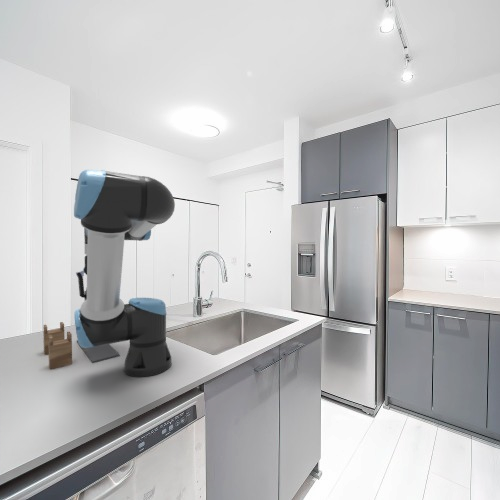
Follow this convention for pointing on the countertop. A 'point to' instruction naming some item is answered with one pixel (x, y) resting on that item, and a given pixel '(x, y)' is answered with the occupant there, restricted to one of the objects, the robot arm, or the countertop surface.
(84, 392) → the countertop surface
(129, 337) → the robot arm
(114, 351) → the mat
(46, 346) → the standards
